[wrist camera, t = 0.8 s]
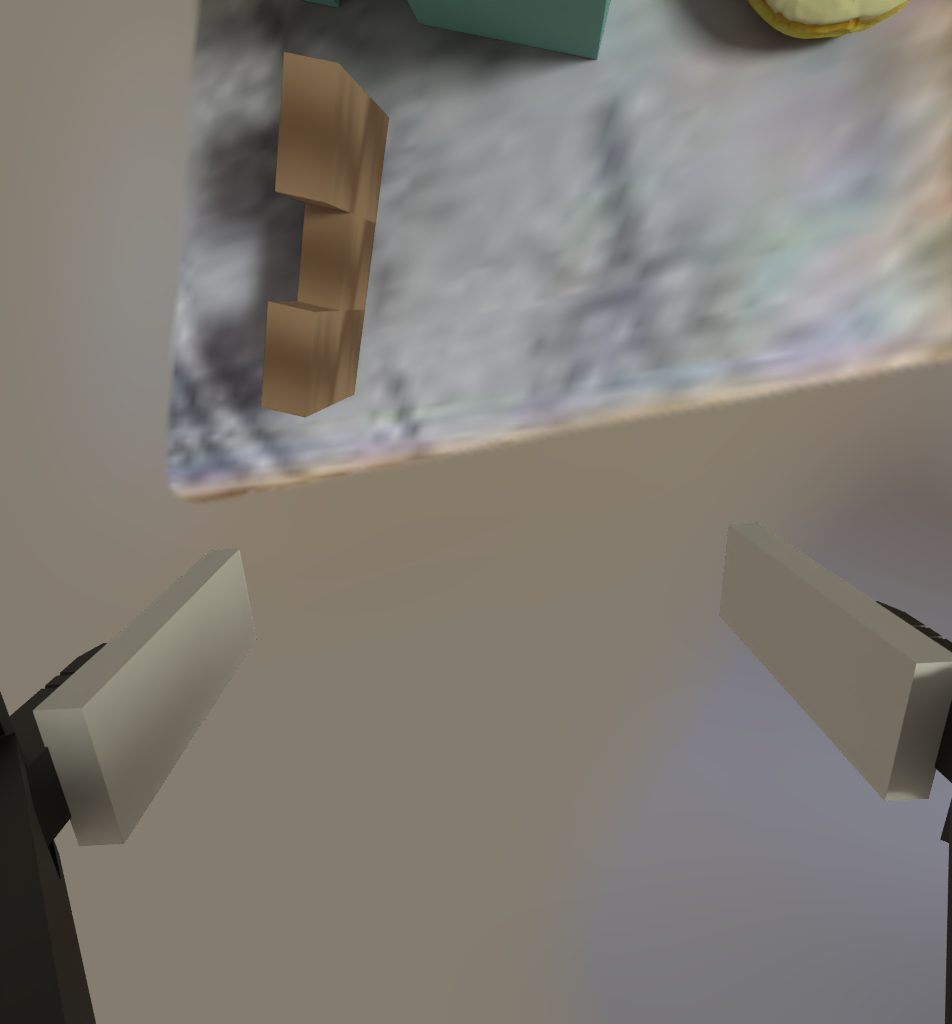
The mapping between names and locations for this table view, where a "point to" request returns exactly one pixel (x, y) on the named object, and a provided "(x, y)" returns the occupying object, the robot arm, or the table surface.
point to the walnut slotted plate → (324, 234)
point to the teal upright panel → (519, 21)
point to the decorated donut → (824, 15)
